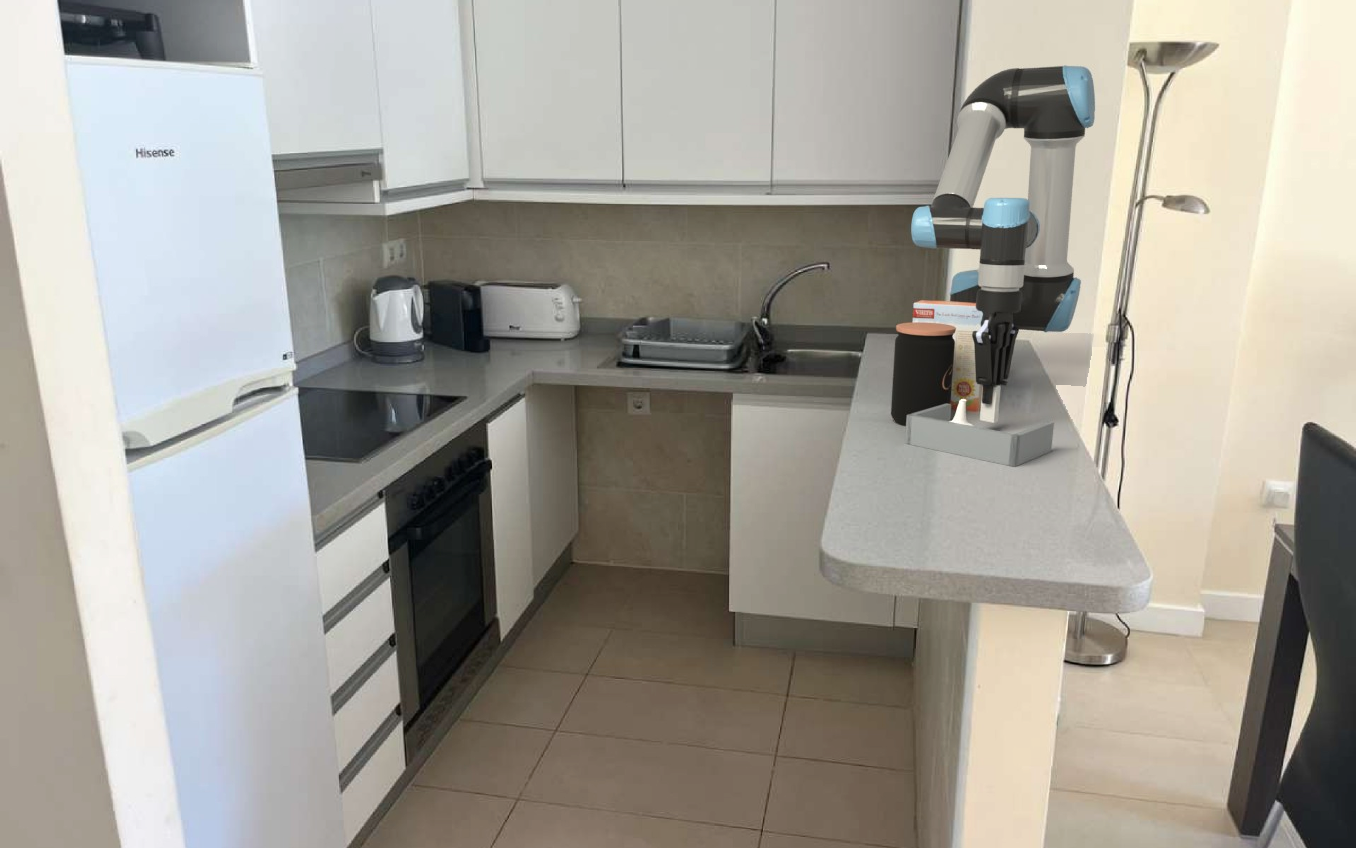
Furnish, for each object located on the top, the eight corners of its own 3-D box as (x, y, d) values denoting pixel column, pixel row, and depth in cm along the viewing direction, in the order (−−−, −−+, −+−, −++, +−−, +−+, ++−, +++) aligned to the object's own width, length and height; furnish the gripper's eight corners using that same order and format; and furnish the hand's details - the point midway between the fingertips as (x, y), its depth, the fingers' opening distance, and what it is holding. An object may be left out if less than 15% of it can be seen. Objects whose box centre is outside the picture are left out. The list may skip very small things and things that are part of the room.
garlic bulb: (959, 438, 176) (962, 393, 174) (984, 446, 170) (988, 400, 168) (931, 442, 173) (934, 397, 171) (956, 451, 167) (959, 404, 166)
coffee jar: (950, 430, 181) (958, 331, 176) (890, 427, 183) (896, 329, 178) (947, 417, 191) (954, 323, 186) (890, 414, 193) (895, 321, 188)
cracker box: (984, 408, 198) (993, 302, 193) (977, 414, 193) (986, 306, 188) (914, 400, 205) (921, 298, 200) (906, 406, 200) (912, 301, 195)
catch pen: (944, 430, 181) (946, 403, 179) (1051, 451, 167) (1054, 422, 166) (905, 443, 172) (906, 415, 170) (1014, 466, 158) (1017, 436, 157)
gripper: (997, 284, 181) (987, 411, 186) (961, 289, 172) (951, 423, 177) (1037, 287, 175) (1025, 418, 181) (1002, 293, 166) (990, 430, 172)
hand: (988, 420), depth 179 cm, fingers closed
